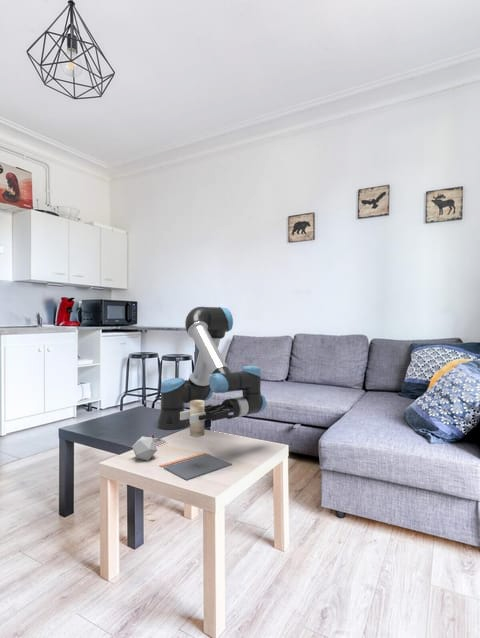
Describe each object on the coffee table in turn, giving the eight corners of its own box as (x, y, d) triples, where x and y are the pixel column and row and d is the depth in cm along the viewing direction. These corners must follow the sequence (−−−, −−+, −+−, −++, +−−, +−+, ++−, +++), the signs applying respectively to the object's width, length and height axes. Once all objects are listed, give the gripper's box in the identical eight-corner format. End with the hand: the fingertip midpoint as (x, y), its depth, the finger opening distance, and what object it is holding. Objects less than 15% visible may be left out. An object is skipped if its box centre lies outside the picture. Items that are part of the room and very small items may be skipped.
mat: (208, 454, 144) (208, 453, 144) (232, 464, 133) (232, 463, 133) (163, 468, 130) (163, 467, 130) (186, 480, 120) (186, 479, 120)
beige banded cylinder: (198, 431, 136) (198, 399, 136) (207, 434, 132) (207, 401, 132) (187, 434, 133) (187, 401, 133) (195, 437, 129) (195, 403, 129)
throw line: (203, 453, 146) (203, 452, 146) (206, 454, 145) (206, 453, 145) (159, 466, 132) (159, 465, 132) (161, 467, 131) (161, 466, 131)
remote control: (158, 449, 151) (158, 442, 151) (134, 442, 161) (134, 435, 161) (170, 445, 157) (170, 438, 157) (146, 438, 166) (146, 432, 166)
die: (161, 458, 142) (155, 434, 146) (154, 454, 134) (148, 429, 139) (140, 466, 141) (135, 442, 146) (133, 463, 133) (127, 437, 138)
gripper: (250, 421, 138) (200, 434, 122) (219, 413, 151) (171, 423, 135) (250, 401, 138) (201, 411, 122) (219, 395, 152) (171, 403, 136)
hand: (185, 417), depth 129 cm, fingers closed on beige banded cylinder, 5 cm apart
